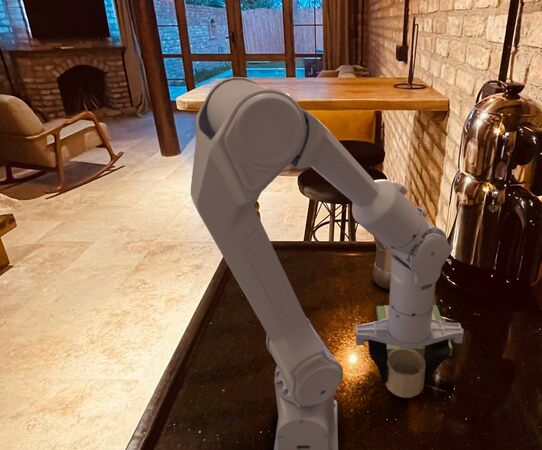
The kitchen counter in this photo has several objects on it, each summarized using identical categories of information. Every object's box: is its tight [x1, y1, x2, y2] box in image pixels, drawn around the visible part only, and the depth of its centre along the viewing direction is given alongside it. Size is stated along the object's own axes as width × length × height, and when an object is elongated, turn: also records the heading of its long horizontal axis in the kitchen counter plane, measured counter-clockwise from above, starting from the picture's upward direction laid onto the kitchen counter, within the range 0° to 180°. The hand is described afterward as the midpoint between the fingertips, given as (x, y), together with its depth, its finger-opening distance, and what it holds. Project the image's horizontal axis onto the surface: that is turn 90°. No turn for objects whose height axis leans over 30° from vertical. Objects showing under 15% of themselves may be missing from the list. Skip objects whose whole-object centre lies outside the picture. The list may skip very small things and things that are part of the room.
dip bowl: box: [384, 348, 426, 399], centre depth 59 cm, size 6×6×4 cm
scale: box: [375, 304, 453, 357], centre depth 70 cm, size 11×11×2 cm
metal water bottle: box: [372, 238, 394, 290], centre depth 79 cm, size 6×7×20 cm
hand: (404, 377), depth 60 cm, fingers closed on dip bowl, 6 cm apart
